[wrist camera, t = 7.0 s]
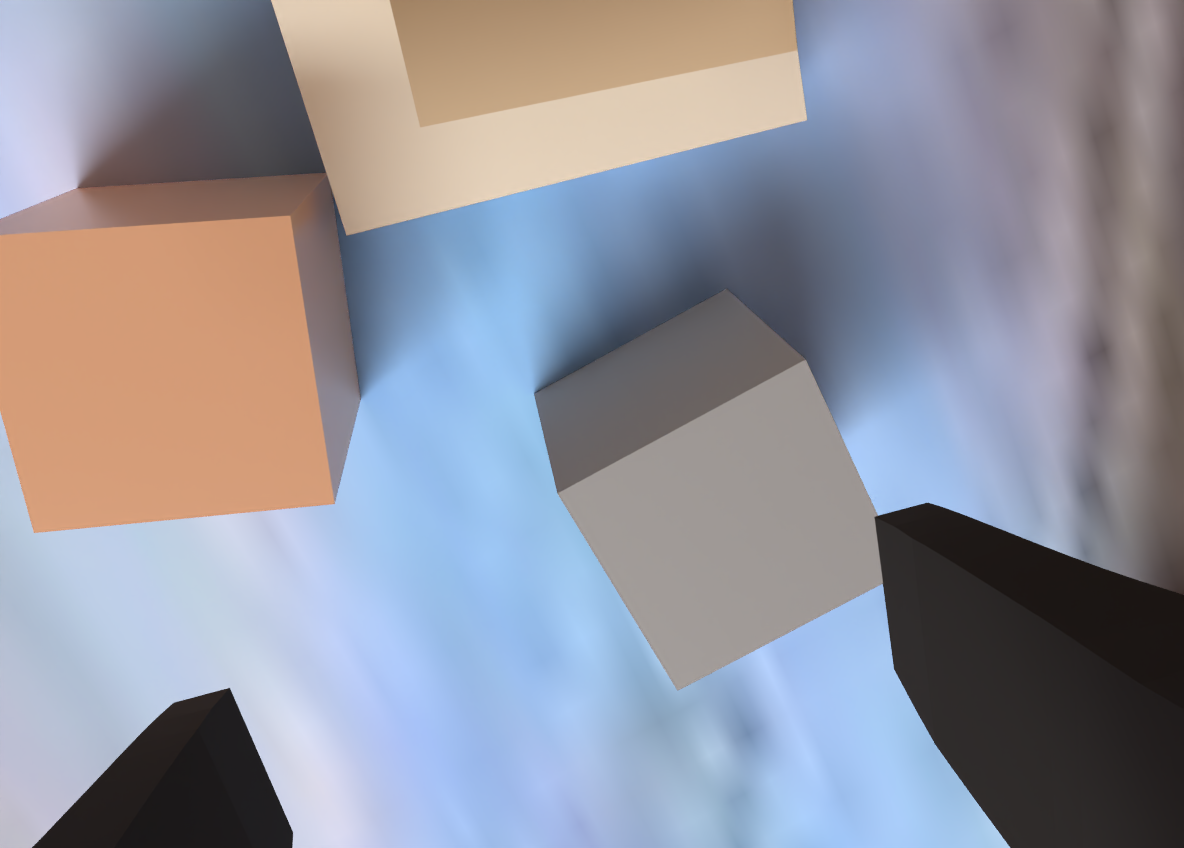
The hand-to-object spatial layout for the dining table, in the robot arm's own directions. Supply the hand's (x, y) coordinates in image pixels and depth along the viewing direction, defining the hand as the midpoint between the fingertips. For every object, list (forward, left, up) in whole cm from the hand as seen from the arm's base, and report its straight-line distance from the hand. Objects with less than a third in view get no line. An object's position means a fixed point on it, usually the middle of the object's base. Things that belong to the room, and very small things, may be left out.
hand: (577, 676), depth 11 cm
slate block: (-2, -3, -10) cm, 11 cm away
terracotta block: (+3, +5, -10) cm, 12 cm away
